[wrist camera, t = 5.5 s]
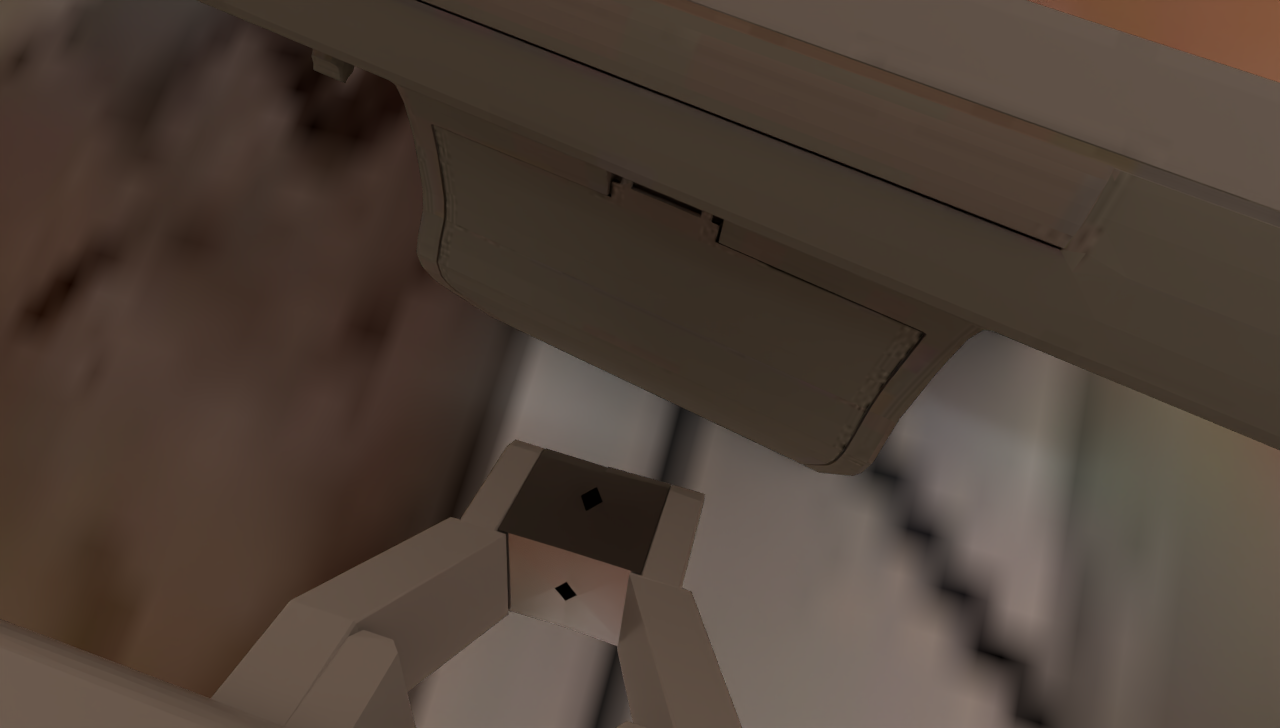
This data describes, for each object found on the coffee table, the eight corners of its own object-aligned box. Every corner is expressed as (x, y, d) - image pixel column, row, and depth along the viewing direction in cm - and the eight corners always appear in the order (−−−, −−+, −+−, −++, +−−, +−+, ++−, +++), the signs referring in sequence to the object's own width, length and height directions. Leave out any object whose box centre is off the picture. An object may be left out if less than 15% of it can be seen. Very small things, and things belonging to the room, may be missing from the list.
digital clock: (1121, 295, 15) (2139, -123, 4) (888, 620, 14) (1366, 1068, 4) (569, -46, 18) (352, -791, 7) (360, 215, 17) (-196, -169, 7)
